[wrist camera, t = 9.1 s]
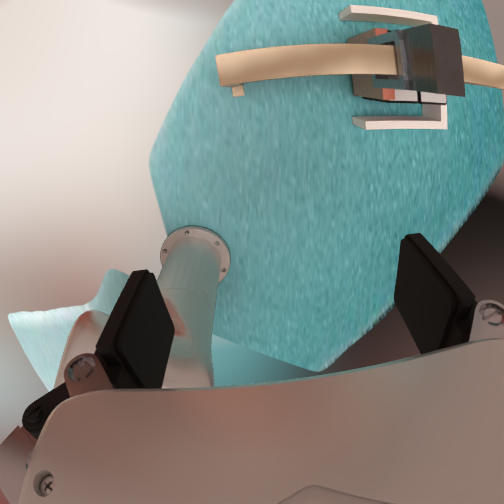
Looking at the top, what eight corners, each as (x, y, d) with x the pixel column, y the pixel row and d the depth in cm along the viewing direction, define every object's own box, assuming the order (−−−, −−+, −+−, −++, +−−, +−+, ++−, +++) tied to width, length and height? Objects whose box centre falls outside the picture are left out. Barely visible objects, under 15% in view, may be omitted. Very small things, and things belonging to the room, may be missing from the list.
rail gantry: (438, 89, 39) (515, 103, 23) (233, 96, 41) (223, 101, 25) (435, 56, 36) (512, 57, 20) (227, 59, 38) (212, 40, 22)
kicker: (371, 95, 40) (469, 114, 19) (346, 95, 40) (433, 111, 19) (364, 39, 35) (459, 14, 14) (339, 39, 35) (421, 5, 15)
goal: (428, 122, 42) (447, 129, 37) (352, 124, 43) (366, 129, 38) (418, 20, 33) (436, 16, 28) (338, 13, 34) (350, 5, 29)
